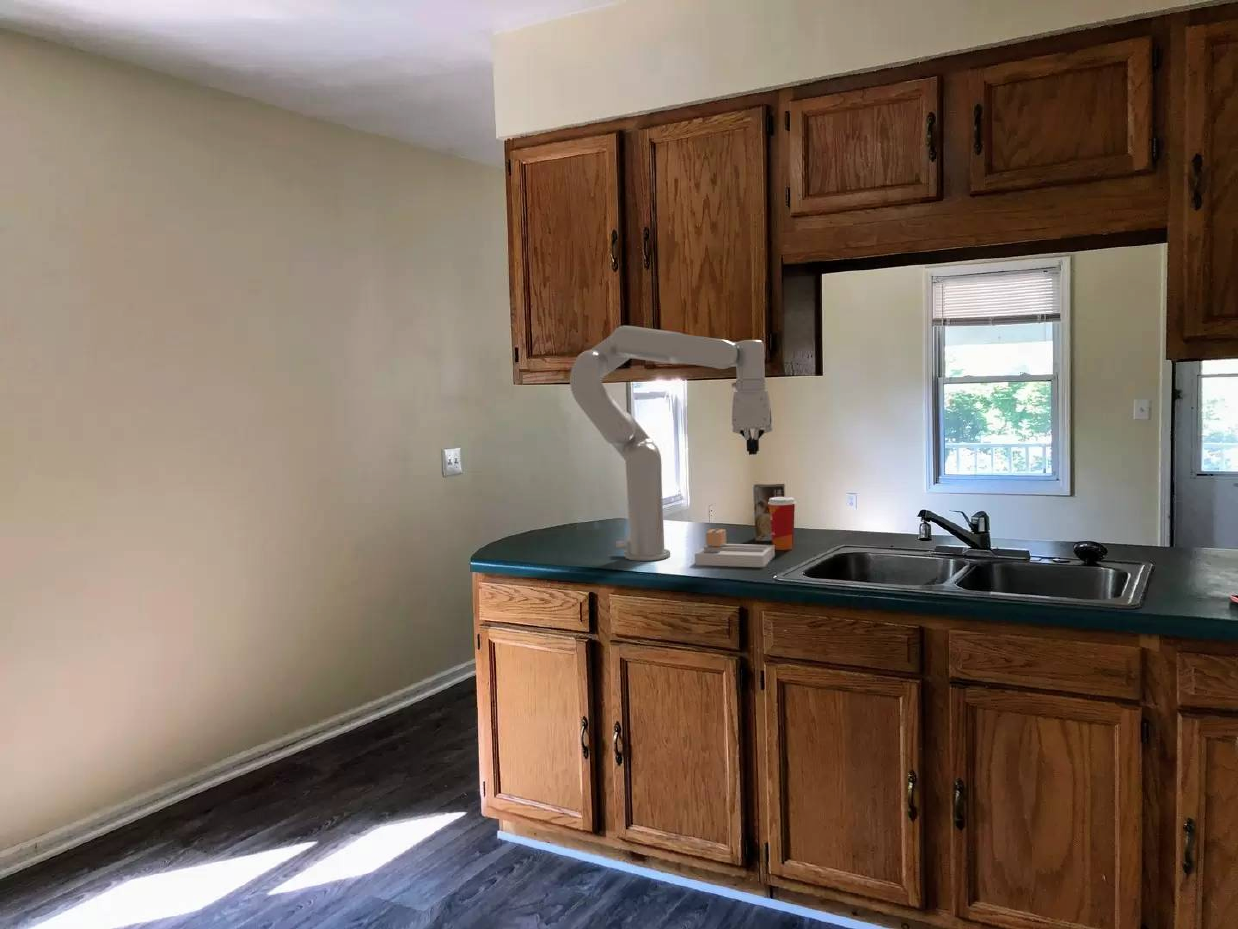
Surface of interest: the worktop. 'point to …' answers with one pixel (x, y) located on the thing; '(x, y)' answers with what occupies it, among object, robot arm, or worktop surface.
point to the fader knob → (716, 537)
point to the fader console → (735, 555)
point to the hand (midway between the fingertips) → (753, 454)
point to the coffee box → (764, 508)
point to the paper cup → (782, 522)
